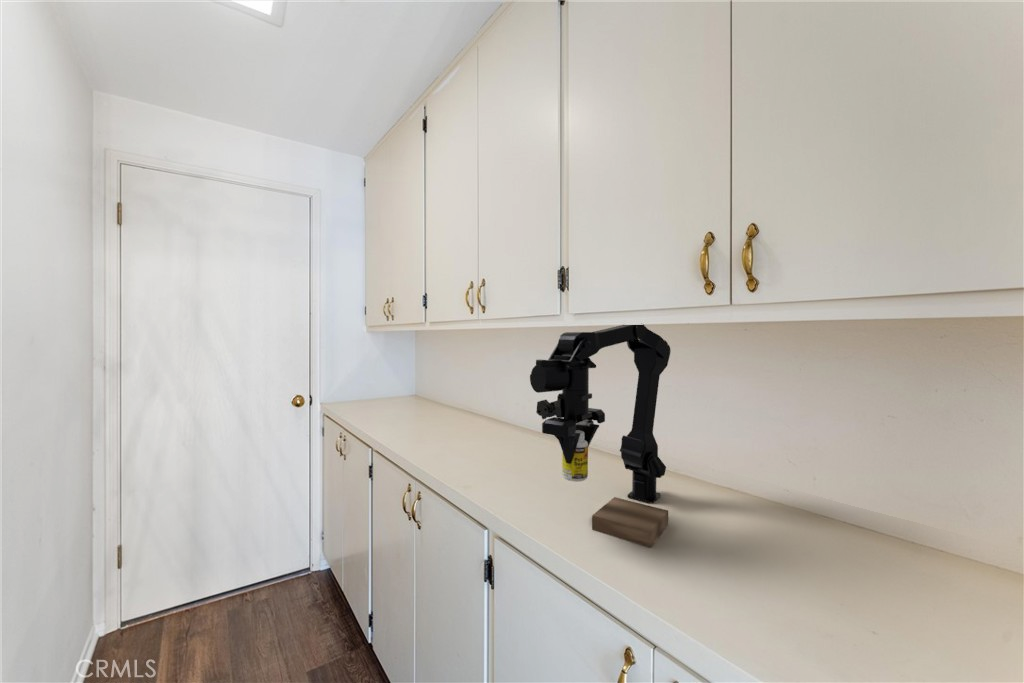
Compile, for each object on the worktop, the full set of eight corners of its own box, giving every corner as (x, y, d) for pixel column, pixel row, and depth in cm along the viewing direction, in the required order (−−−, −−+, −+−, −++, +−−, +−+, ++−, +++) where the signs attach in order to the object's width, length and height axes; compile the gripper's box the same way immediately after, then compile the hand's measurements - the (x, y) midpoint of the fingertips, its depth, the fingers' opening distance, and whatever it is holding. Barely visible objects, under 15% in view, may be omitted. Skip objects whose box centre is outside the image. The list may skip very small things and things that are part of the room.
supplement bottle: (573, 484, 86) (574, 436, 86) (557, 476, 90) (557, 430, 90) (593, 479, 89) (593, 432, 89) (576, 472, 93) (576, 427, 93)
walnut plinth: (614, 510, 94) (614, 497, 94) (668, 524, 87) (668, 510, 87) (592, 529, 84) (592, 515, 84) (650, 547, 77) (650, 532, 77)
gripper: (564, 382, 102) (563, 444, 102) (520, 390, 87) (520, 463, 87) (606, 385, 95) (605, 452, 95) (567, 395, 80) (566, 474, 80)
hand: (575, 459), depth 90 cm, fingers closed on supplement bottle, 6 cm apart
